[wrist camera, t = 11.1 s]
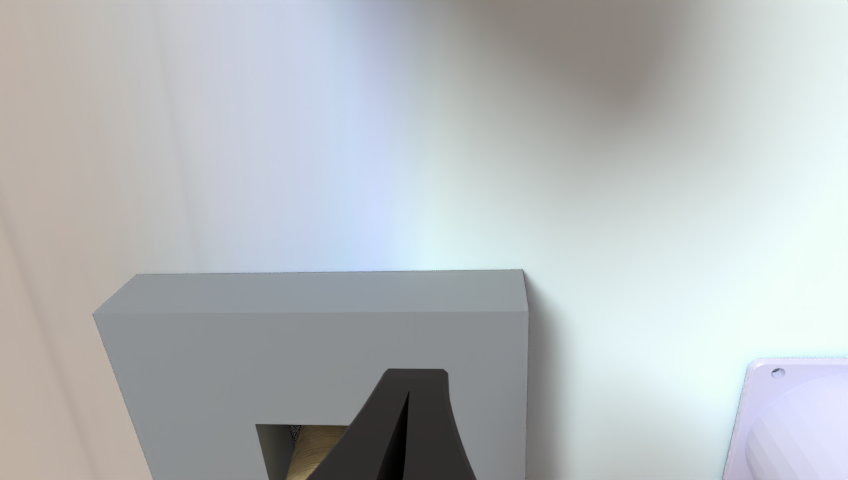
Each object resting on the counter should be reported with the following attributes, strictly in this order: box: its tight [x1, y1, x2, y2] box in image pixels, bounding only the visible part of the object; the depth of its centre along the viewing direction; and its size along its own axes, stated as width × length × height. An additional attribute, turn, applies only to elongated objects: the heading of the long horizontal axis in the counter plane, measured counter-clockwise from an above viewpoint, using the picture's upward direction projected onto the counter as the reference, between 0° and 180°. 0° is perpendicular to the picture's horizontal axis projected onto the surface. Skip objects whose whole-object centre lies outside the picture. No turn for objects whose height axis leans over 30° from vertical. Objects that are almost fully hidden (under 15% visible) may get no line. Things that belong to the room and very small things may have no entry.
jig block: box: [92, 270, 529, 480], centre depth 25 cm, size 16×16×3 cm
